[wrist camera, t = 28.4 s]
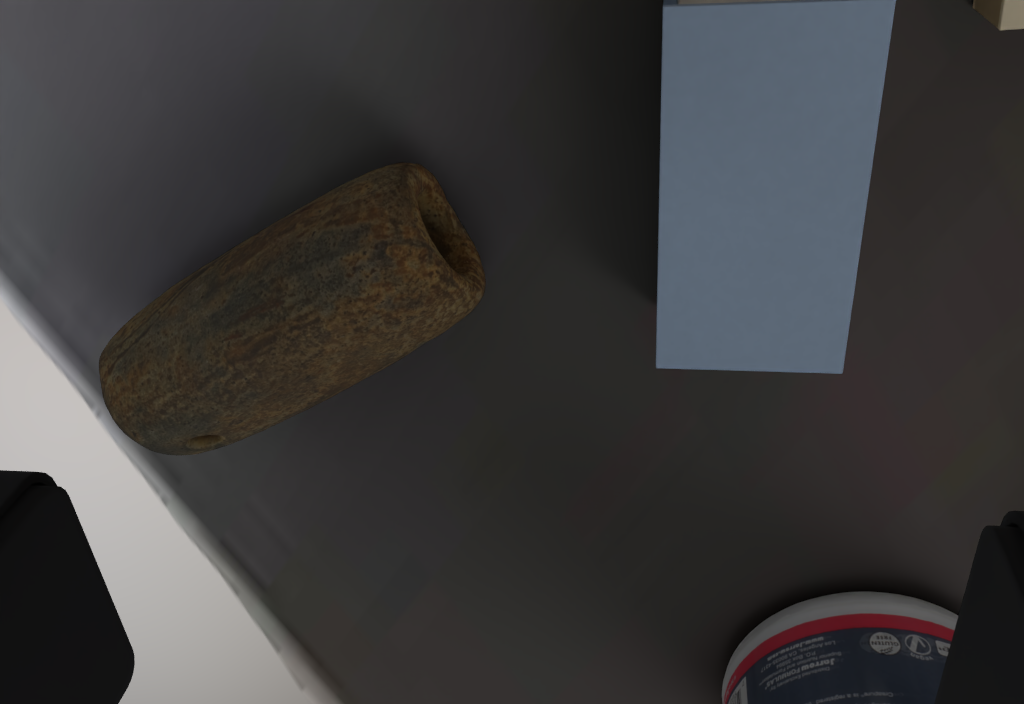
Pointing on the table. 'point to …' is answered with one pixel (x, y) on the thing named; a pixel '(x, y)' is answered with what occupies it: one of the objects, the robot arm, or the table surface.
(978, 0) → the cream hardcover
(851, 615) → the supplement tub
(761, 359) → the grey blue book
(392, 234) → the brown vase
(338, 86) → the table surface
